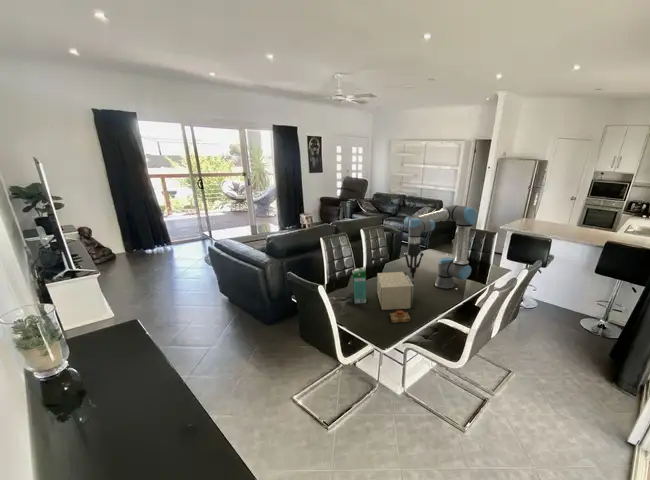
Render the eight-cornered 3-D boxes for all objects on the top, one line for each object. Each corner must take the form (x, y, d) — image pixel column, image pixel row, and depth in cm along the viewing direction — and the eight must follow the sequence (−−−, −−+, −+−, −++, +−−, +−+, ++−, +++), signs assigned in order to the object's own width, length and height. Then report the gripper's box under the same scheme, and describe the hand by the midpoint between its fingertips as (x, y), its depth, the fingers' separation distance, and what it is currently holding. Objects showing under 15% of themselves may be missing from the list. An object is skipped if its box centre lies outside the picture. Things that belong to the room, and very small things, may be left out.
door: (412, 295, 243) (412, 275, 236) (418, 307, 224) (419, 285, 217) (405, 296, 242) (405, 275, 236) (410, 308, 223) (411, 286, 217)
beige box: (406, 292, 249) (406, 271, 243) (413, 308, 223) (414, 285, 217) (377, 293, 247) (377, 273, 241) (381, 310, 221) (381, 287, 215)
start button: (402, 312, 210) (402, 309, 209) (403, 315, 206) (403, 312, 206) (396, 312, 210) (396, 310, 209) (397, 315, 206) (397, 313, 205)
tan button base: (407, 315, 214) (407, 309, 213) (410, 321, 206) (410, 316, 204) (389, 316, 213) (389, 310, 211) (391, 322, 205) (391, 317, 203)
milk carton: (353, 298, 240) (352, 266, 230) (365, 297, 240) (365, 266, 231) (354, 303, 231) (352, 271, 222) (366, 303, 232) (365, 270, 223)
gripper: (405, 244, 202) (404, 279, 210) (425, 244, 203) (423, 278, 212) (403, 241, 209) (402, 275, 217) (422, 241, 210) (420, 275, 219)
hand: (412, 277), depth 215 cm, fingers closed
